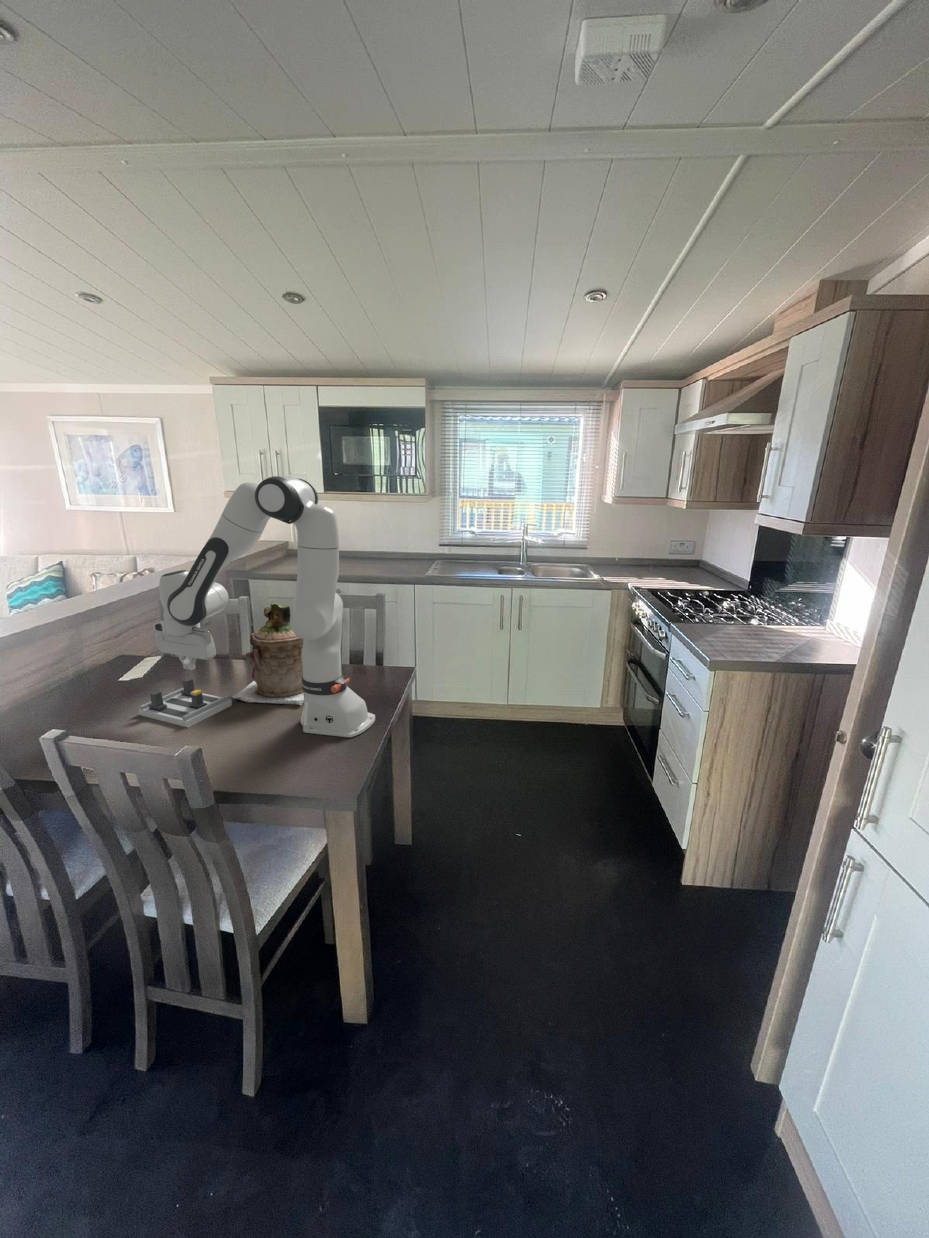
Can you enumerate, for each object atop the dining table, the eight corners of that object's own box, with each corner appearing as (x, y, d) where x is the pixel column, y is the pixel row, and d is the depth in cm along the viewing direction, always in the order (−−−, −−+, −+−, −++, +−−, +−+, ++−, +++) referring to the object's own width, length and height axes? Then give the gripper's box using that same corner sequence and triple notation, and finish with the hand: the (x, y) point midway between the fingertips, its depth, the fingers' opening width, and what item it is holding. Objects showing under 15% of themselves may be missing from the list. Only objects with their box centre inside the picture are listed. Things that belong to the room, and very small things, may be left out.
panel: (231, 705, 152) (230, 696, 151) (188, 727, 137) (186, 717, 137) (186, 694, 159) (184, 686, 158) (139, 715, 144) (138, 705, 143)
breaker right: (198, 693, 154) (196, 679, 153) (192, 695, 152) (190, 682, 151) (187, 690, 156) (185, 677, 154) (181, 693, 154) (178, 679, 152)
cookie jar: (330, 678, 175) (326, 594, 167) (302, 707, 152) (295, 611, 143) (267, 674, 177) (259, 591, 169) (229, 703, 154) (218, 608, 145)
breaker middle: (207, 705, 146) (205, 691, 144) (201, 708, 144) (199, 694, 143) (195, 702, 147) (193, 688, 146) (189, 705, 145) (186, 691, 144)
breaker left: (167, 707, 144) (164, 692, 143) (160, 710, 142) (158, 695, 141) (155, 704, 146) (153, 689, 145) (148, 707, 144) (146, 692, 143)
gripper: (218, 626, 139) (224, 669, 142) (168, 619, 146) (175, 661, 149) (199, 631, 133) (206, 677, 137) (148, 624, 140) (156, 667, 144)
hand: (189, 668), depth 143 cm, fingers closed
